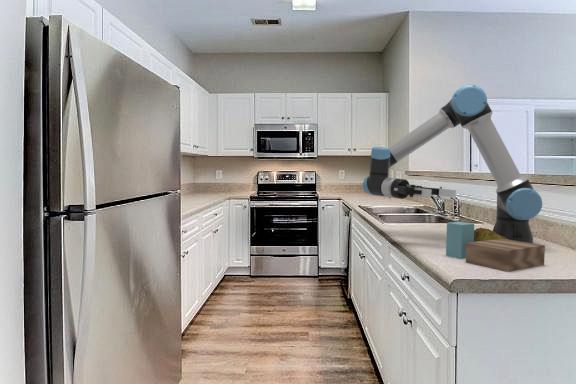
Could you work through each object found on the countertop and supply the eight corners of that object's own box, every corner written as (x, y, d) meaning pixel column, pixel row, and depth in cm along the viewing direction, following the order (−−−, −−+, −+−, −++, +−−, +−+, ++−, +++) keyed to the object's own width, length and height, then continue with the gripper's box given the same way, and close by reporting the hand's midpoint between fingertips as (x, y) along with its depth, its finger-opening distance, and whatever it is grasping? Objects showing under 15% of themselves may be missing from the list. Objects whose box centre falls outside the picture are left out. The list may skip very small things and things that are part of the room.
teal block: (457, 253, 148) (458, 221, 147) (473, 257, 142) (474, 223, 142) (445, 255, 145) (446, 222, 144) (461, 258, 139) (462, 224, 139)
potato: (508, 255, 146) (509, 231, 146) (468, 250, 154) (469, 228, 154) (513, 251, 153) (514, 229, 152) (475, 247, 161) (475, 225, 160)
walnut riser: (501, 256, 144) (502, 238, 143) (544, 264, 131) (544, 245, 131) (465, 262, 135) (466, 242, 134) (507, 271, 122) (508, 250, 122)
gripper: (416, 198, 174) (463, 204, 157) (372, 197, 160) (418, 204, 143) (418, 179, 174) (465, 183, 156) (373, 177, 160) (420, 181, 142)
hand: (443, 193), depth 149 cm, fingers open, 13 cm apart
